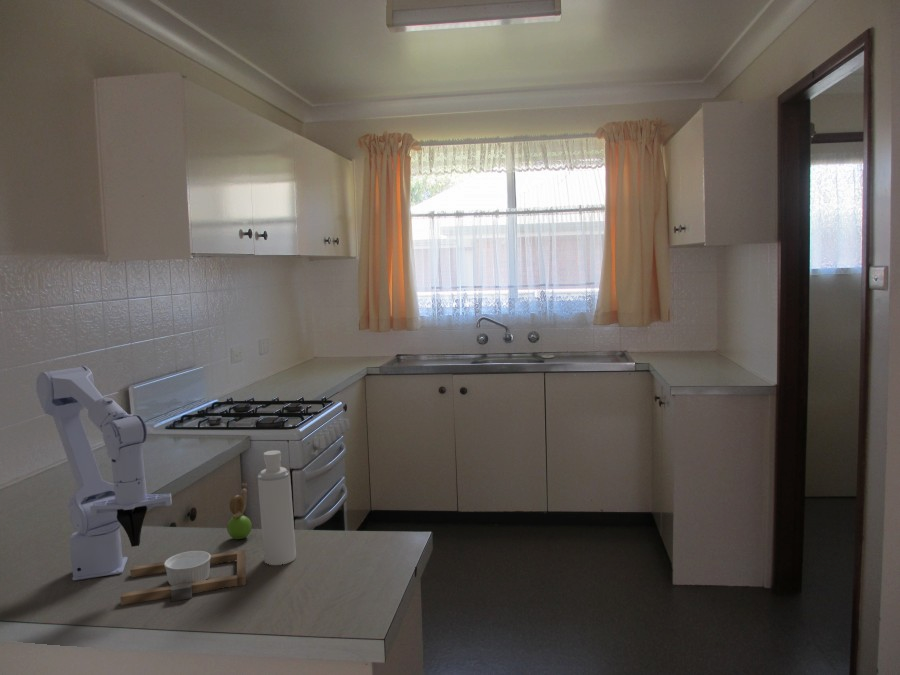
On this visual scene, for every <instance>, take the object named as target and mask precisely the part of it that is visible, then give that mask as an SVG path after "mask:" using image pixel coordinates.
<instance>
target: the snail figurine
mask: <svg viewBox="0 0 900 675" xmlns="http://www.w3.org/2000/svg"><path fill="white" fill-rule="evenodd" d="M247 485H248V484H247V483H241V486H242V489H241V491H240V493H241V495H239V494H235V495H234V496H232V498H231V500H230V502H229V511H230V512H231V513H232V514H231V519H229V521H228V522H227V526H226V530H227V533H228V535H229V536H230V538H233V539H234V540H243V539H245V538H246V537H248V536H249V535H250V533H251V531H252V528H253V527H252V521H251V520H250V518H249V517H248V516H245V515H243V513H244V512H245V511H246V507H247V492H248V490H247V488H244V487H247Z"/></svg>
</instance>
